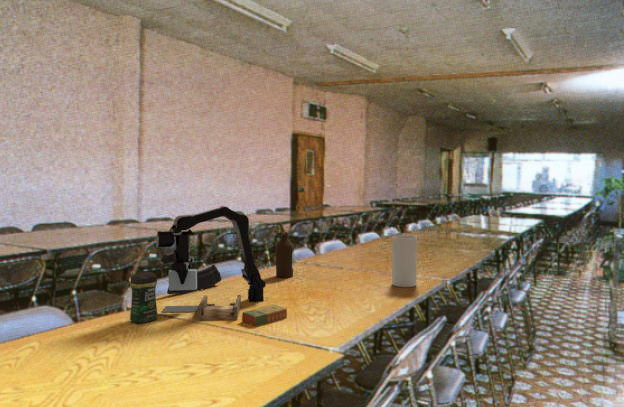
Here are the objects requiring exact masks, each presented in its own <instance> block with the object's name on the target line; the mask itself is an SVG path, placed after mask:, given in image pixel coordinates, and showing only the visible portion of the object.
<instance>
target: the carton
mask: <svg viewBox="0 0 624 407" xmlns="http://www.w3.org/2000/svg"><path fill="white" fill-rule="evenodd" d="M287 311H288V310H287V307H284V306H280V305H277V304H270V305H266V306H263V307H258V308H255V309H251V310H248V311H244V312H243V311H242V313H241V322H242V323H244V322H245V323H244V324H247V323H248V325H250V324H251V325H250V326H252V327H258V326H262V325H265V324H268V323H273V322H277V321H279V320H283V319H287V318H288V312H287Z"/></svg>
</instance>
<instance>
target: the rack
mask: <svg viewBox="0 0 624 407" xmlns="http://www.w3.org/2000/svg"><path fill="white" fill-rule="evenodd" d="M236 296H237V297H236V299H235V301H234V302H231V303H229V306H234V315H213V316H203V314H204V309H205V307H206V306H216V303H208V295H206V294H205V295H203V297H202V299H201V301H200V302H199V304H198V305H199V306H198V307H197V312H196V313H197V315H196V316H197V318H196V319H197V321H215V320H216V321H217V320H221V321H222V320H223V321H224V320H227V319H228V320H234V321H237V320H238V318H239V314H240V310H241V304H242V303H241V297H242V295H241V294H237V295H236Z"/></svg>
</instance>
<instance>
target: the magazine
mask: <svg viewBox="0 0 624 407" xmlns="http://www.w3.org/2000/svg"><path fill="white" fill-rule="evenodd" d="M221 281H222V275H221V272H220V271H219V270H218V267H217V266H216V265H215V264H211V265H210V266H207V267H206V268H204V269H201V270H197V289H196V290H199V291H202V290H201V289H203V290H205V288H206V289H207V288H210V287H216V284H218V283H220V282H221ZM196 290H169V285H168V288H167V292H166V294H168V295H177V294H179V295H180V294H189V292H190V293H194V292H193V291H195V292H197V291H196Z"/></svg>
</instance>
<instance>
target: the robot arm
mask: <svg viewBox="0 0 624 407" xmlns="http://www.w3.org/2000/svg"><path fill="white" fill-rule="evenodd" d="M221 217H224V218H226V219H228V220H229V221H231V224H232V227H233V229H234V230H235V232H236V234H237V237H238V241H239V246H240V250H241V255H242V261H243V268H241V269H240V272H241V274H242V275H241V276H242V279H244V280H245V282H246V283H247V285H248V286H249V287H248V288H247V299H248V302H264V301H265V300H264V299H265V297H264V289H265V288H266V285H267V282H266V281H264V280H263V279H262V276H261V272H260V271H259V269H258V266H256V263H255V259H254V256H253V255H254V254H253V250H252V246H251V240H250V236H249V228H250V221H249V220H250V219H249V217H248V216H247V215H246V214H243V213H238V212H236V211H235V210H233V209H230V208H229V207H228V206H224V205H222V206H219V207H217V208H213V209H209V210H206V211H202V212H198V213H195V214H183V215H178V216H176V217H175V218H174V220H173V224H172V225H171V227H169V228H170V229H169V230H163V231H161V230H157V231H156V236H155V237H156V238H155V246H156V249H161V248H163V249H164V248H172V247H173V246H174V245H175V246H174V247H175V248H174V250H173V252H171V253H165V254H162V255H161V257H160V259H161V260H160V261H161V262H162V265H164V266H165V265H167V264H168V263H171V262H173V263H172V264H171V265H170V270H172V271H176V272H177V273H178V276H179V279H180V283H181V284H184V282H185V279H186V276H187V273H188V270H190V269H192V267H193V264H194V263H195V257H194V256H193V255H190V254H191V253H190V252H191V246H190V240H191V239H190V236H195V232H193V231H192V230H191V228H193V227H194V226H195V227H196V225H198V224H201V223H204V222H207V221H212V220H214V219H218V218H221ZM189 263H191V264H189Z"/></svg>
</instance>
